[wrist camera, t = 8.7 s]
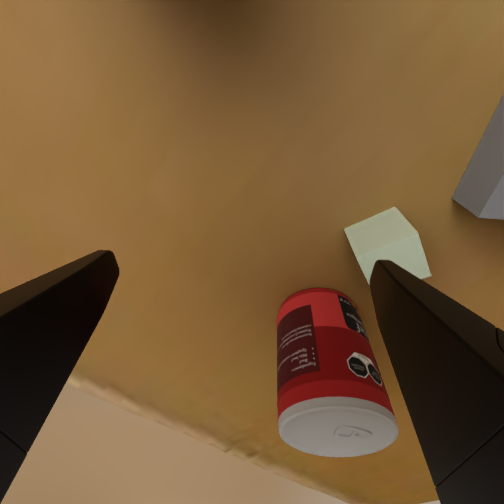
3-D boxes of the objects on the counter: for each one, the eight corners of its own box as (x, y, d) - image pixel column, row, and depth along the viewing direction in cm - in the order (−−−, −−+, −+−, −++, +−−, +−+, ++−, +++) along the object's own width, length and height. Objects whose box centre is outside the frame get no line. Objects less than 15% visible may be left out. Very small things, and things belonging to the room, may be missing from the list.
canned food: (354, 336, 29) (391, 459, 20) (279, 339, 30) (282, 457, 21) (360, 282, 25) (410, 407, 16) (273, 287, 26) (272, 407, 17)
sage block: (343, 228, 22) (355, 257, 18) (394, 205, 20) (417, 232, 17) (360, 263, 24) (374, 295, 20) (408, 244, 22) (431, 275, 19)
